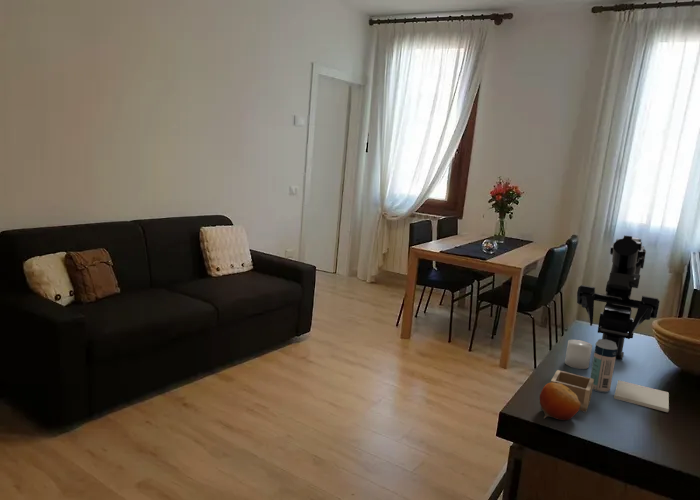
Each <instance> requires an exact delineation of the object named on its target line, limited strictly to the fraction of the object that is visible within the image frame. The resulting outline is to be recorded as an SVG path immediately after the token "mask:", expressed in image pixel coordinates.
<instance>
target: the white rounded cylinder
mask: <svg viewBox="0 0 700 500" xmlns="http://www.w3.org/2000/svg"><path fill="white" fill-rule="evenodd" d="M592 348H593V345H592V343H590V342H587V341H584V340H582V339H581V340H578V339H568V341H567V347H566V351H565V352H566V353H565V359H564V364H566V366H568V367H570V368H573V369H578V370H579V369H580V370H587V369H589V367H590V363H591V362H590V361H591V355H592V350H593V349H592Z"/></svg>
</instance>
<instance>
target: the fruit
mask: <svg viewBox="0 0 700 500" xmlns="http://www.w3.org/2000/svg"><path fill="white" fill-rule="evenodd" d="M539 405H540V409H541V410H542V411H543V413H544V416H543V419H545V418H547V417H551V418H554V419H556V420H559V421H560V420H562V421H569V420H571V419H572V418H573V417H574V416H575V415H576V414H577V413H578V412H579V408H580V406H581V403H580V401H579V400H578V397H577V395H576V394H575V393H574V392H572V391H571V390H570V389H569V388H568V387H566V386H564V385H563V384H561V383H553V382H551V381H550V382H548V383H546V384H545V385H544V386H543V388H542V390H541V391H540V394H539Z"/></svg>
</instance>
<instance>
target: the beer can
mask: <svg viewBox="0 0 700 500" xmlns="http://www.w3.org/2000/svg"><path fill="white" fill-rule="evenodd" d="M616 352H617V346H616V343H615V342H613V341H610V340H606V339H602V338H599V339H598V340H597V341H596V343H595V347H594V354H593V359H592V365H591V371H590V377H589V378H592V379H594V383H593V389H592V391H594V392H598V393H607V392H611V385H612V381H613V375H614V369H615V364H616V359H615V358H616Z"/></svg>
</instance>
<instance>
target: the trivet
mask: <svg viewBox="0 0 700 500" xmlns="http://www.w3.org/2000/svg"><path fill="white" fill-rule="evenodd" d="M669 397H670V394H669V392H668V391H664V390H660V389H658V388H657V389H655V388H652V387H648V386H643V385H639V384H636V383H632V382H627V381H624V380H619V379H618V380H617V383H616V387H615V392H614V395H613V399H614V400H619V401H623V402H627V403H630V404H633V405H634V404H635V405H638V406H641V407H644V408H645V407H646V408H649V409H654V410H656V411H661V412H665V413H669V411H670V406H669V405H670V403H669V400H670V398H669Z"/></svg>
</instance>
